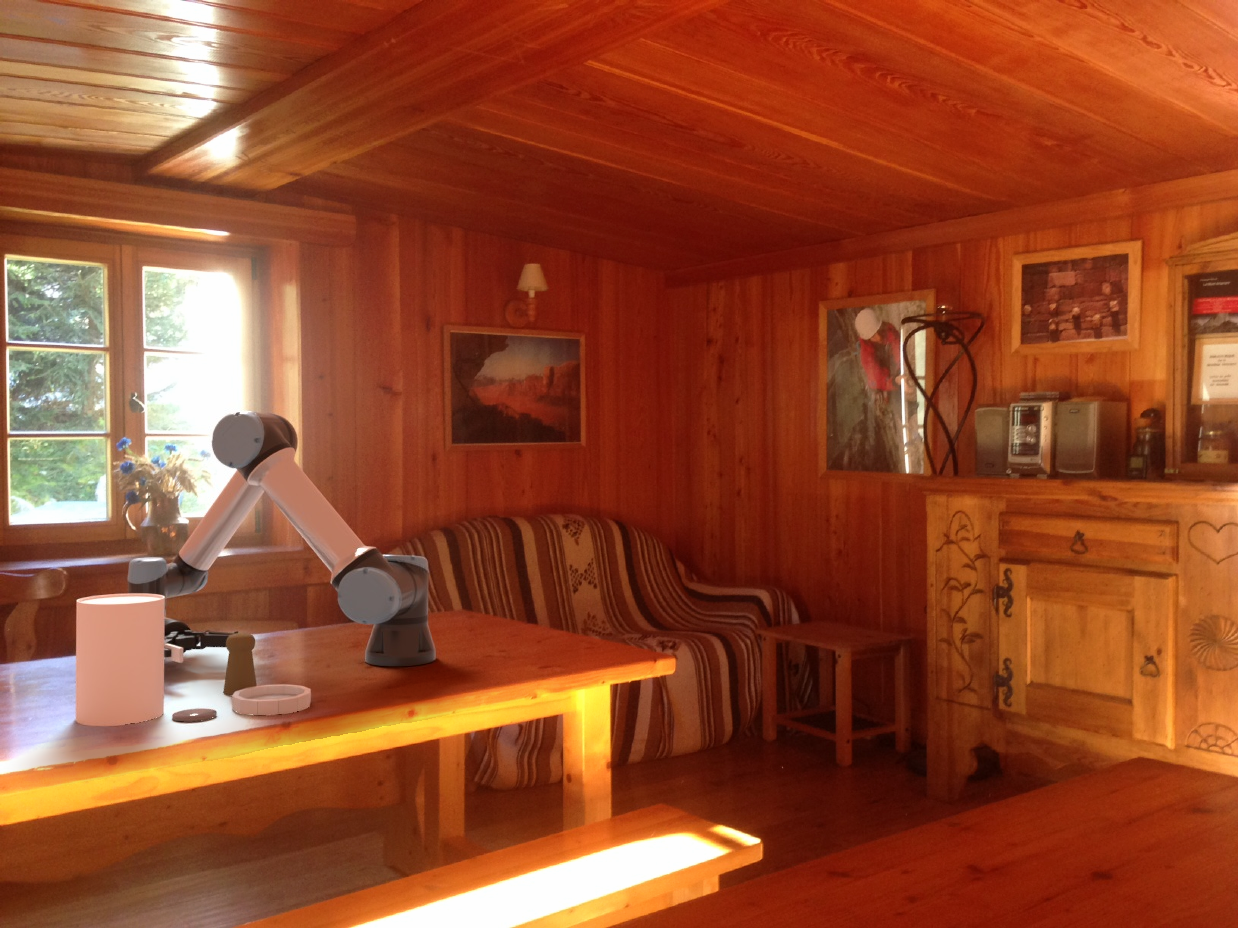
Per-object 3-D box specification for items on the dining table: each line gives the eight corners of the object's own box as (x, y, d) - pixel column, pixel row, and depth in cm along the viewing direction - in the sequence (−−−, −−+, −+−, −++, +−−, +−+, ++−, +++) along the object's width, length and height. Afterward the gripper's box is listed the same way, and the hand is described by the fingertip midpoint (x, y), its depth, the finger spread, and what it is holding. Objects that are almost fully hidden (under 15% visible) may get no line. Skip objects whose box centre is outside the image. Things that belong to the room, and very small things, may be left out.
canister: (72, 729, 168) (73, 605, 168) (78, 710, 181) (79, 595, 181) (163, 721, 174) (164, 602, 174) (163, 703, 186) (164, 592, 186)
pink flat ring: (312, 696, 193) (312, 683, 193) (307, 713, 180) (307, 699, 180) (238, 699, 190) (238, 685, 190) (227, 716, 177) (228, 702, 177)
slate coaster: (219, 711, 181) (219, 707, 181) (213, 721, 175) (213, 717, 175) (176, 712, 180) (176, 709, 180) (168, 722, 173) (168, 719, 173)
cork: (245, 696, 193) (246, 636, 193) (216, 694, 194) (217, 635, 194) (263, 689, 199) (263, 631, 199) (234, 687, 200) (235, 630, 200)
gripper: (223, 647, 226) (274, 661, 212) (104, 663, 208) (151, 679, 193) (224, 612, 226) (274, 624, 212) (104, 625, 208) (151, 639, 193)
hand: (215, 650), depth 203 cm, fingers open, 13 cm apart
